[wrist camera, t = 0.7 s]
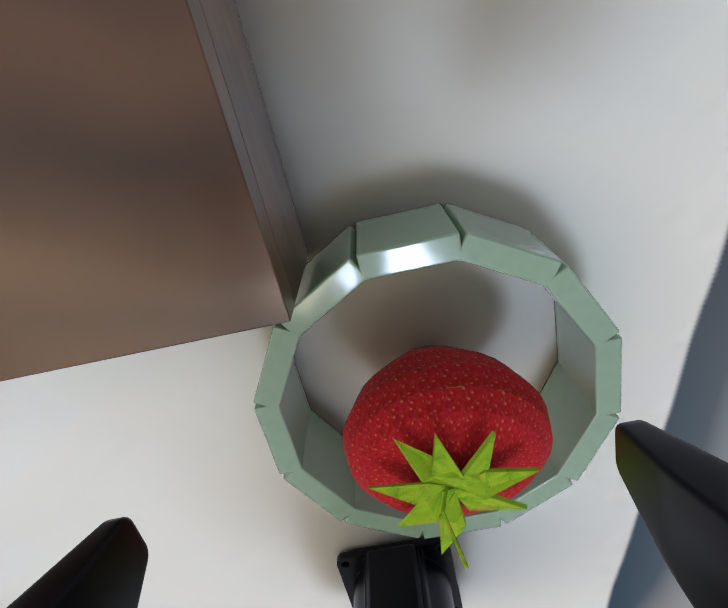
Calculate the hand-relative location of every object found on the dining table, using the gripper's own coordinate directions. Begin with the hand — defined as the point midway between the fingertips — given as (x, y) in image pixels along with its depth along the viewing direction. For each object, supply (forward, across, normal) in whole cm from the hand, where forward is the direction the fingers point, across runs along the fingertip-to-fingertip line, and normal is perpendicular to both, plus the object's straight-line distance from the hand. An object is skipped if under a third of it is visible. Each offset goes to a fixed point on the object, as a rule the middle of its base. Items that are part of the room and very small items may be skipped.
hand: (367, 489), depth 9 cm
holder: (+13, -2, +5) cm, 14 cm away
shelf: (+13, +9, -7) cm, 17 cm away
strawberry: (+13, -2, +5) cm, 14 cm away
